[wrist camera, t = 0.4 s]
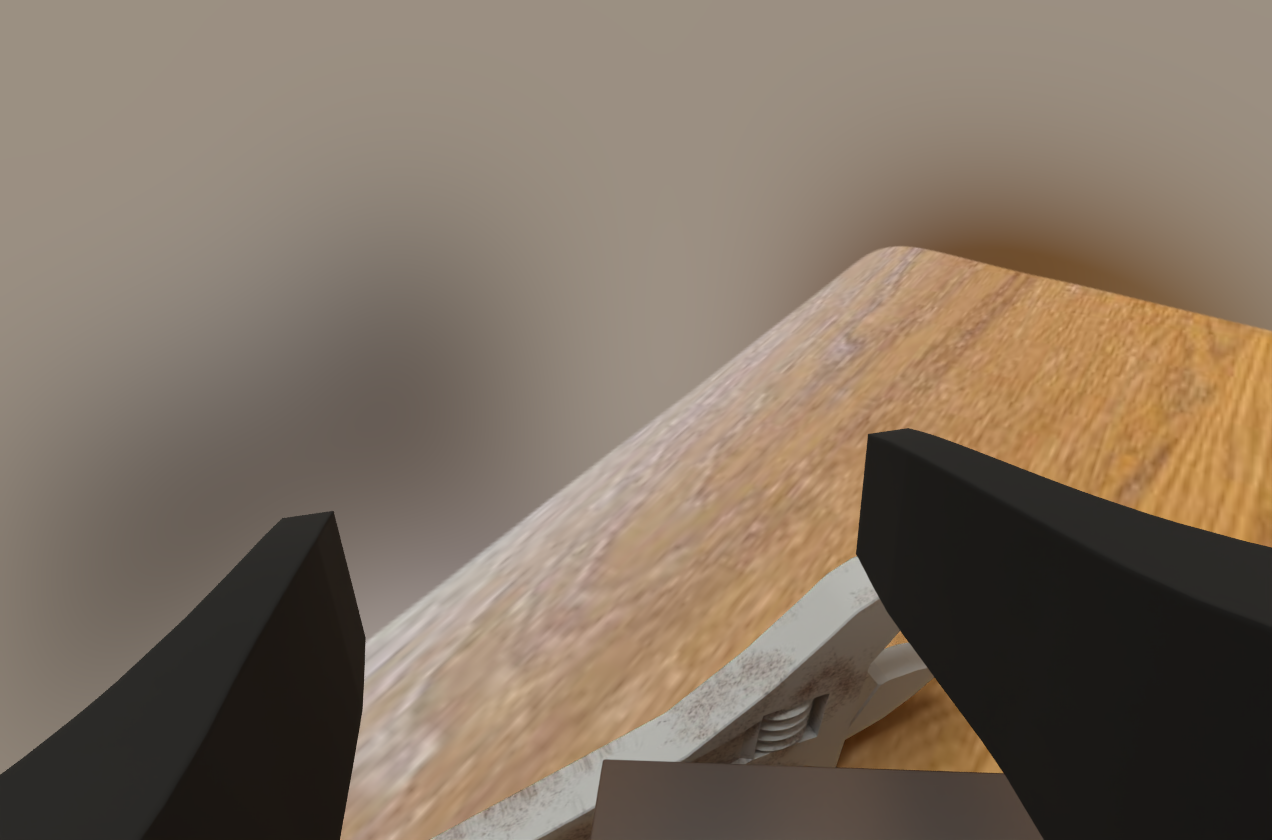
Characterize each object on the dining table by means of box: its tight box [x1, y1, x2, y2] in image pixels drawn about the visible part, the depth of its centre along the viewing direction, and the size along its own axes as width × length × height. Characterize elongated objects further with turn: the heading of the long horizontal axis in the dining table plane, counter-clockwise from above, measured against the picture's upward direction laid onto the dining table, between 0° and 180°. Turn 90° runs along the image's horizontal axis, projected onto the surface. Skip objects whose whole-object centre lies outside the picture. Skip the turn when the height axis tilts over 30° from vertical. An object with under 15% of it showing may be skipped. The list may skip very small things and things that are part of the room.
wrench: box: [430, 556, 934, 840], centre depth 25 cm, size 8×2×30 cm
